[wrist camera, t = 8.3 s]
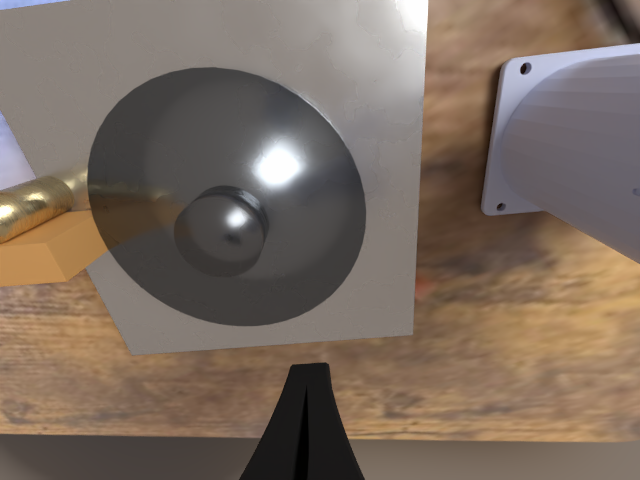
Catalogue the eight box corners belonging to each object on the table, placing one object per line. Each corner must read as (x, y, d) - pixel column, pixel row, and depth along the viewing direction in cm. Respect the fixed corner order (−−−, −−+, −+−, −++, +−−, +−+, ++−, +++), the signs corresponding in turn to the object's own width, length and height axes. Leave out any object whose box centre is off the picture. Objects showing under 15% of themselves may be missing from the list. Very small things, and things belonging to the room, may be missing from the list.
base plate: (419, -36, 13) (477, -108, 8) (407, 319, 22) (431, 386, 17) (-25, 24, 14) (-208, -7, 9) (136, 340, 23) (87, 408, 18)
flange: (358, 52, 13) (372, 39, 10) (366, 305, 20) (376, 356, 16) (-30, 94, 14) (-153, 98, 10) (97, 324, 20) (48, 376, 17)
